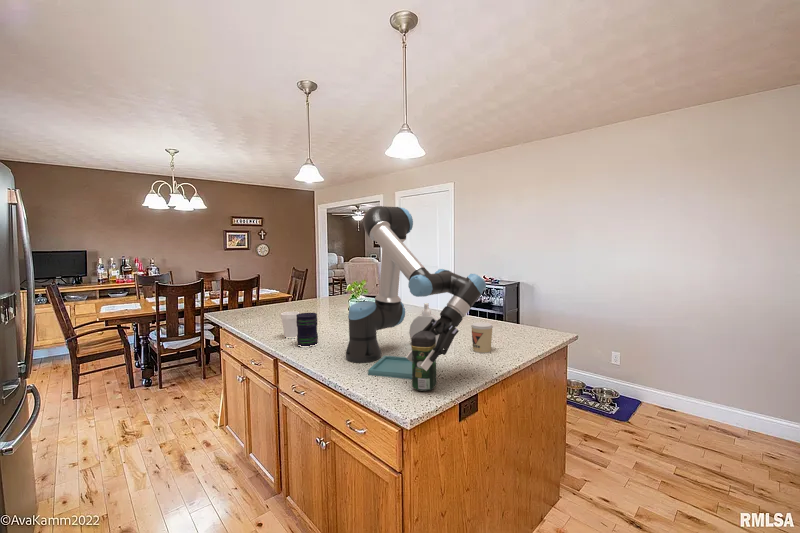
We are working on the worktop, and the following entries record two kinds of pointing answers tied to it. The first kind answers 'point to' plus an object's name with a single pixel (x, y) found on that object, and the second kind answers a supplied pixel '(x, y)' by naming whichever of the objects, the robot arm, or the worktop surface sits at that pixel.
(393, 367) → the tray
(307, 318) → the storage jar
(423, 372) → the coffee jar
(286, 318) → the foam cup
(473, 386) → the worktop surface
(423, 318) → the soap bottle
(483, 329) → the coffee cup
